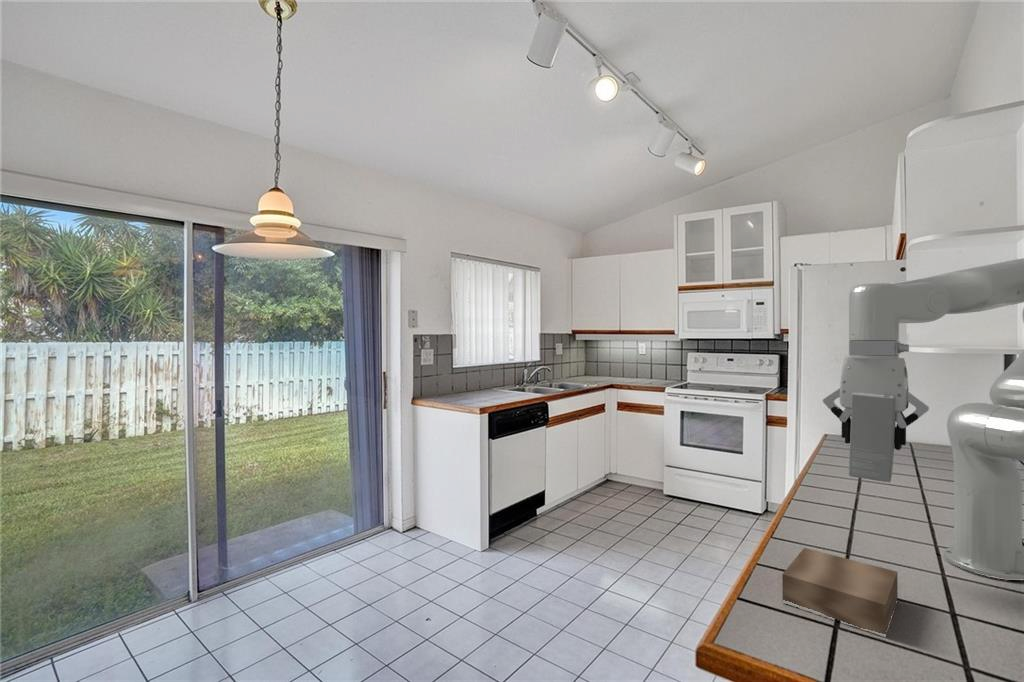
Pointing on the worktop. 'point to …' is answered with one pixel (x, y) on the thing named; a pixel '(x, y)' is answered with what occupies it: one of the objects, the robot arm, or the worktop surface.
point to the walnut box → (842, 589)
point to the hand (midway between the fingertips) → (872, 444)
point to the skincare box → (872, 436)
